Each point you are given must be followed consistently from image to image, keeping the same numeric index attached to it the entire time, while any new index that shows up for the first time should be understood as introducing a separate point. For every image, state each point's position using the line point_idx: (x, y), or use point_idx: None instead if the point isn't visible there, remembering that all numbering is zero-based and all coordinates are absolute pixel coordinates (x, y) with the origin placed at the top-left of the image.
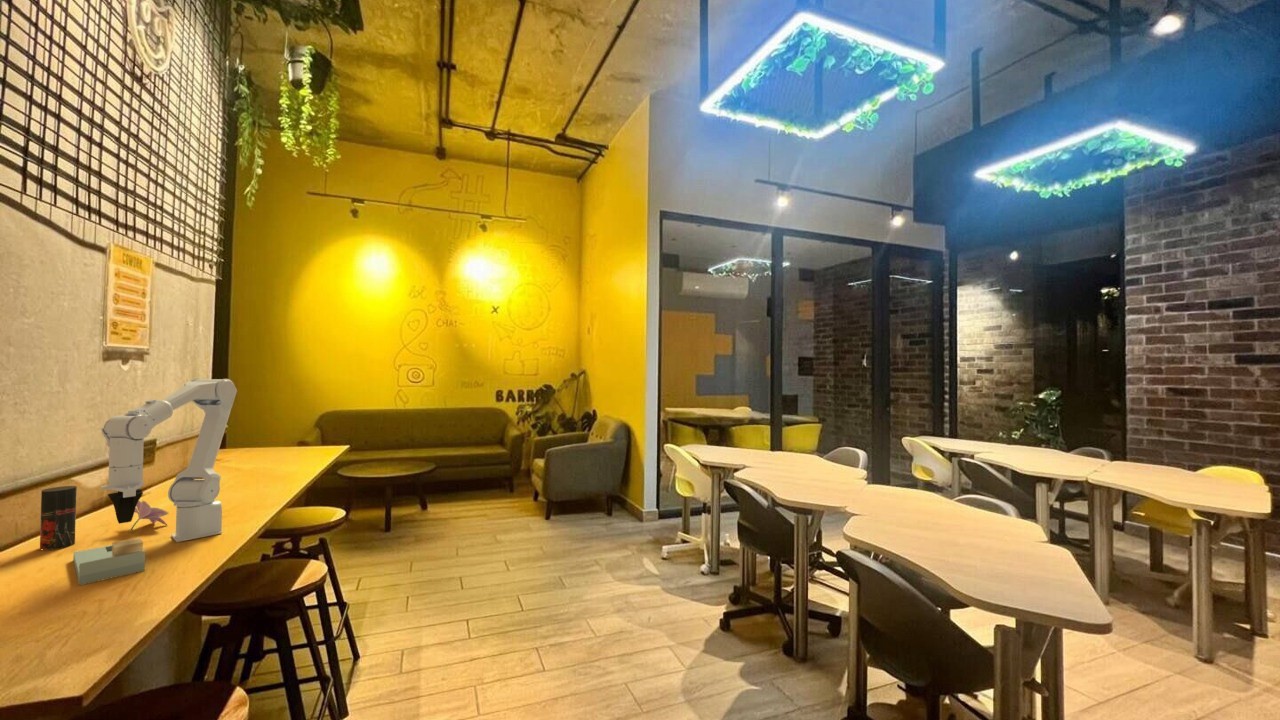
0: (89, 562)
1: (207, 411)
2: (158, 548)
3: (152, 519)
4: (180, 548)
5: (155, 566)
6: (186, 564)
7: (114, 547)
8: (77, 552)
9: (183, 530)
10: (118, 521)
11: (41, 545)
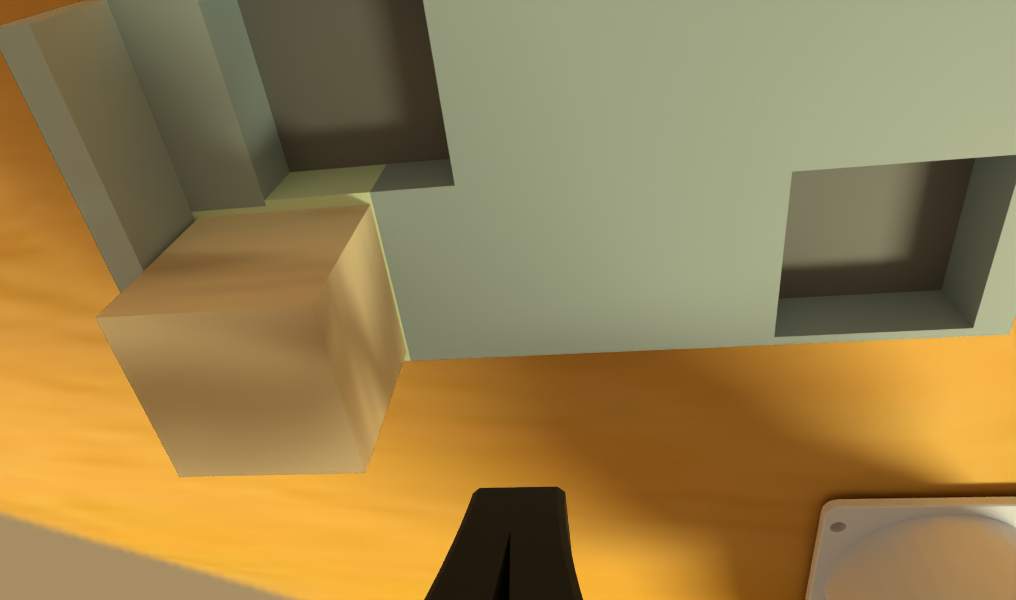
0: (30, 102)
1: None
2: (788, 413)
3: None
4: (653, 494)
5: None
6: (253, 481)
7: (102, 316)
8: None
9: (887, 591)
10: (467, 511)
11: None
